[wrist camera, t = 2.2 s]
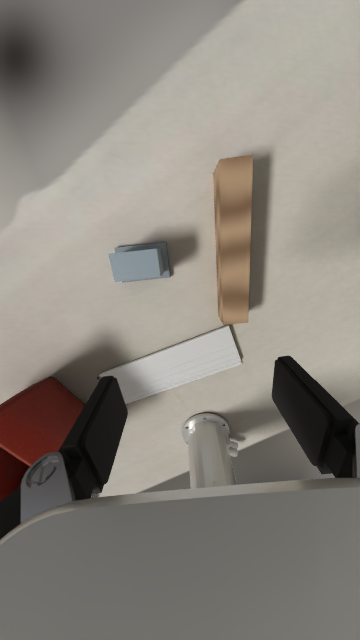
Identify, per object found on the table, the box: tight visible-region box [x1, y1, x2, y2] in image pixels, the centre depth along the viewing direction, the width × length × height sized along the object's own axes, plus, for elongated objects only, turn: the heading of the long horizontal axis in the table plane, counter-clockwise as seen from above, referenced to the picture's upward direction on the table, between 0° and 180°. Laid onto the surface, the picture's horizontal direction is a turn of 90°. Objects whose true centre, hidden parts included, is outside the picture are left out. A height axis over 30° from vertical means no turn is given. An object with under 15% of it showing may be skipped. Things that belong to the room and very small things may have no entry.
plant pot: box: [0, 377, 85, 501], centre depth 37 cm, size 19×19×17 cm
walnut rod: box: [213, 155, 253, 325], centre depth 30 cm, size 24×4×5 cm, turn 6°
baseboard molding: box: [97, 325, 242, 404], centre depth 41 cm, size 31×3×12 cm
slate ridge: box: [109, 242, 170, 282], centre depth 30 cm, size 6×9×7 cm, turn 96°
